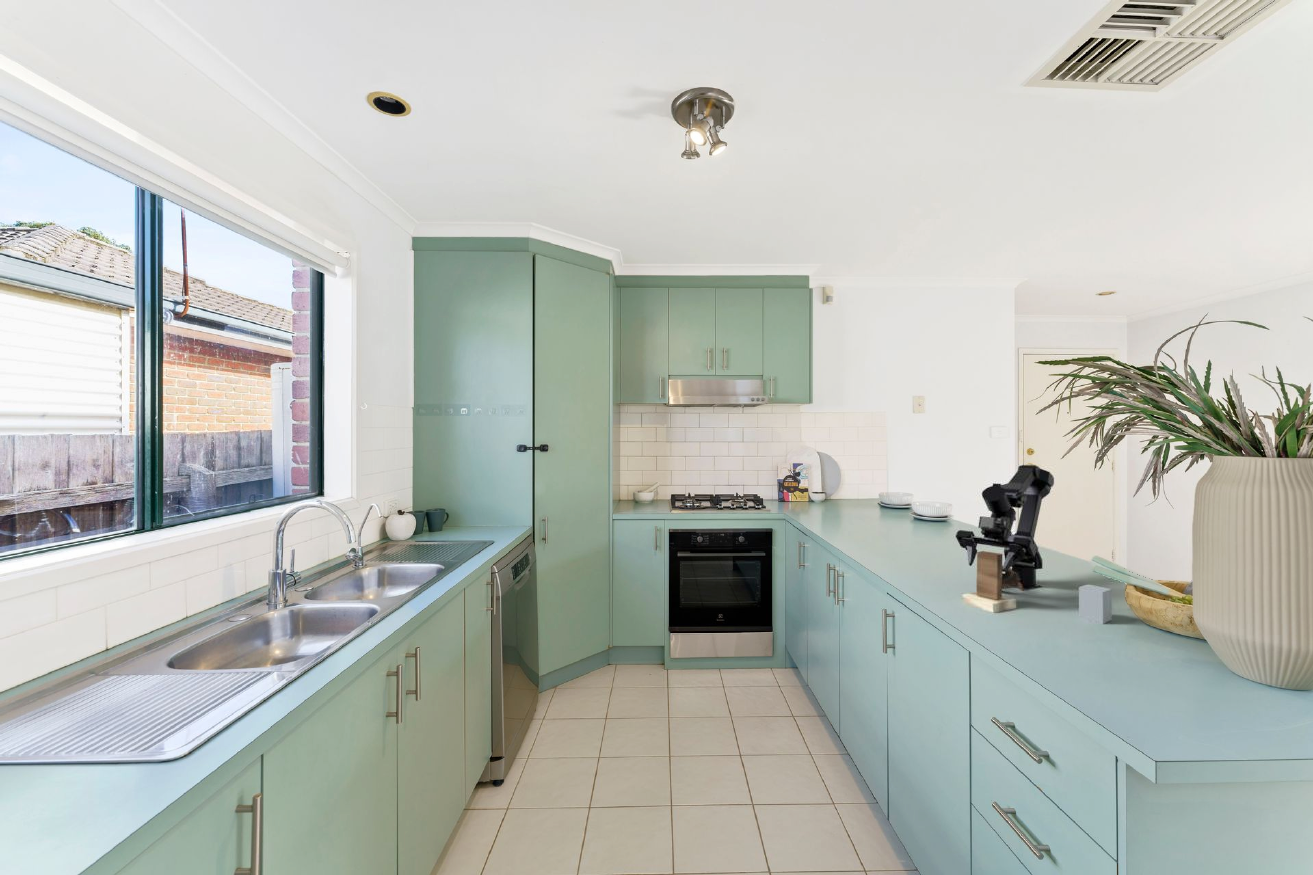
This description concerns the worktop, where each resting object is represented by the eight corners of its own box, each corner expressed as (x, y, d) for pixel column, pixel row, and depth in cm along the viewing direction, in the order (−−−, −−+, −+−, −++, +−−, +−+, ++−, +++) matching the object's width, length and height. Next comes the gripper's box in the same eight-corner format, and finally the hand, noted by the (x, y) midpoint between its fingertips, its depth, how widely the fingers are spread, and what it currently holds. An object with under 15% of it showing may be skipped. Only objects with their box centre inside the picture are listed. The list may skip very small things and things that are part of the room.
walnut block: (981, 592, 151) (982, 550, 152) (1001, 597, 148) (1002, 553, 148) (976, 595, 149) (977, 552, 149) (996, 599, 145) (997, 555, 145)
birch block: (985, 600, 154) (985, 590, 154) (1016, 610, 146) (1015, 599, 145) (962, 604, 151) (962, 594, 151) (993, 614, 142) (992, 603, 142)
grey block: (1088, 614, 139) (1087, 584, 139) (1111, 620, 135) (1111, 588, 135) (1079, 618, 137) (1078, 587, 137) (1102, 624, 133) (1102, 592, 133)
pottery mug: (1033, 595, 157) (1024, 573, 155) (1002, 609, 159) (993, 587, 157) (1007, 574, 169) (999, 554, 167) (979, 587, 170) (970, 567, 168)
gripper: (957, 502, 158) (941, 545, 151) (1031, 508, 143) (1017, 556, 136) (968, 525, 163) (954, 568, 156) (1041, 534, 148) (1028, 581, 141)
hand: (986, 567), depth 147 cm, fingers open, 8 cm apart
